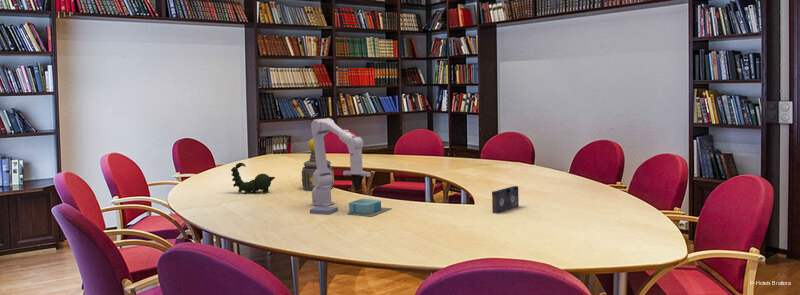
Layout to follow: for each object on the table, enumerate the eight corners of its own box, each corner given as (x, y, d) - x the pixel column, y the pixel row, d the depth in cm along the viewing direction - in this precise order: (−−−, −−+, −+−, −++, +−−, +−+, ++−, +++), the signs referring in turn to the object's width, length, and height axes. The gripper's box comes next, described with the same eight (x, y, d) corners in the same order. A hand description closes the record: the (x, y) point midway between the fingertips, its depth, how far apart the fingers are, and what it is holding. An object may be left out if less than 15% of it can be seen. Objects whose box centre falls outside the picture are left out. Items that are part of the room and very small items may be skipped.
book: (309, 214, 301) (309, 209, 301) (318, 210, 308) (318, 206, 308) (330, 215, 297) (329, 210, 296) (338, 212, 304) (337, 207, 304)
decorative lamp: (297, 191, 361) (295, 139, 357) (308, 185, 379) (305, 136, 376) (329, 191, 358) (327, 138, 354) (338, 185, 376) (335, 135, 373)
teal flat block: (347, 212, 299) (367, 214, 292) (347, 202, 298) (367, 205, 292) (362, 207, 309) (382, 209, 302) (362, 198, 308) (382, 200, 302)
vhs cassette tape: (514, 206, 301) (514, 185, 300) (519, 206, 299) (519, 186, 298) (491, 212, 288) (490, 191, 287) (496, 213, 286) (496, 192, 285)
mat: (347, 214, 296) (347, 213, 296) (367, 206, 311) (367, 206, 311) (372, 216, 289) (372, 216, 289) (391, 208, 304) (391, 208, 304)
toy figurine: (232, 197, 358) (274, 193, 354) (227, 165, 356) (269, 160, 352) (238, 194, 367) (279, 190, 364) (233, 162, 365) (275, 157, 362)
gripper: (373, 161, 300) (374, 189, 302) (348, 160, 308) (349, 188, 309) (365, 164, 294) (366, 192, 296) (340, 162, 301) (341, 190, 303)
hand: (357, 190), depth 302 cm, fingers closed
